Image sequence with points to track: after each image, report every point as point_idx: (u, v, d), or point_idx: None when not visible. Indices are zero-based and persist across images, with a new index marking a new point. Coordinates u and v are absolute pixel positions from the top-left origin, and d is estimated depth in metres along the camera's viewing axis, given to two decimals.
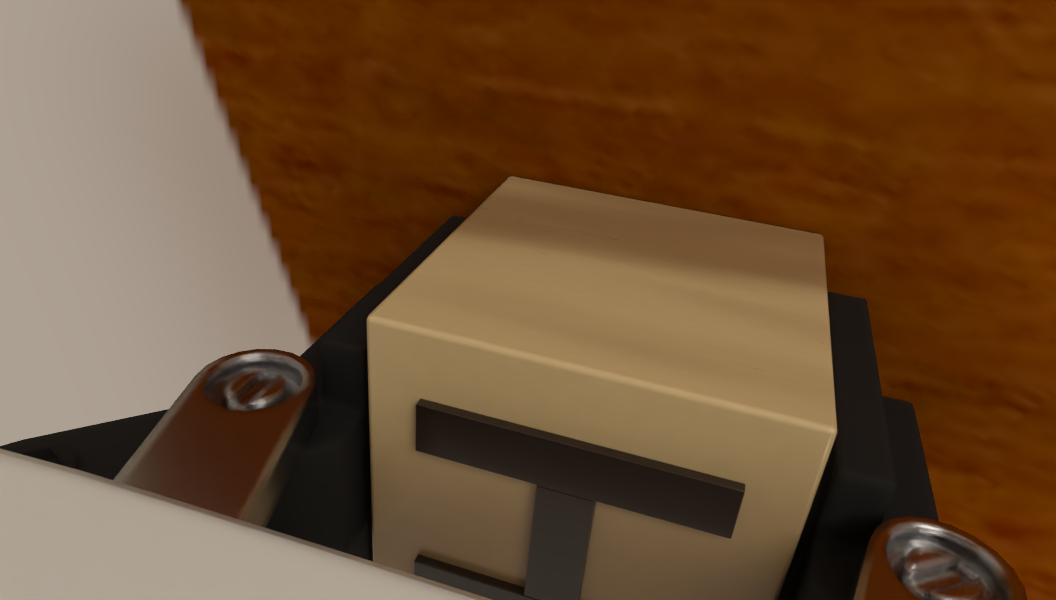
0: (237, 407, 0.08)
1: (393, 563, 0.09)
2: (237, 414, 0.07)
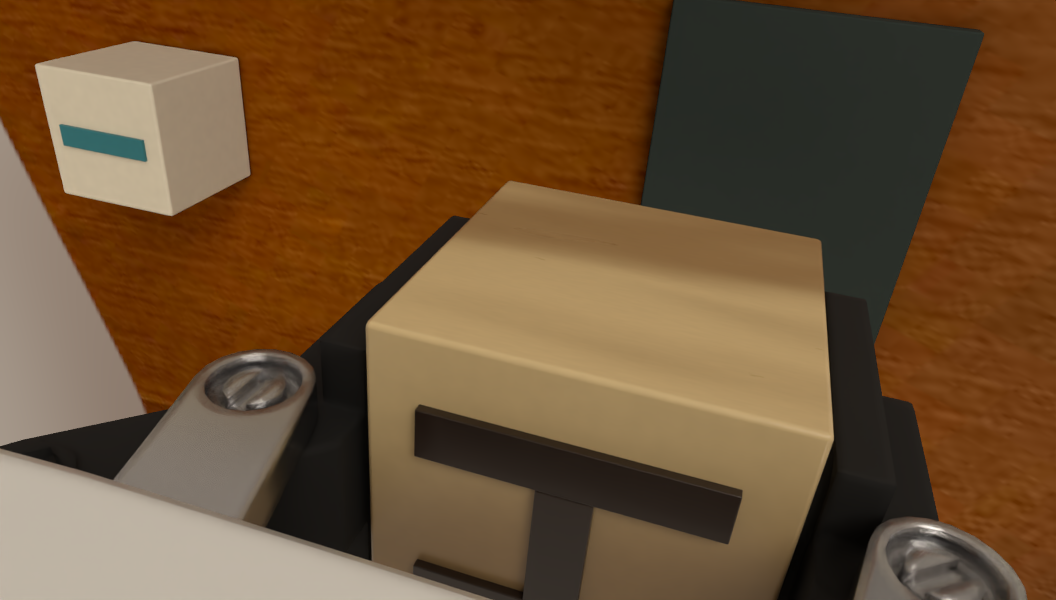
0: (237, 407, 0.08)
1: (392, 567, 0.09)
2: (237, 414, 0.07)
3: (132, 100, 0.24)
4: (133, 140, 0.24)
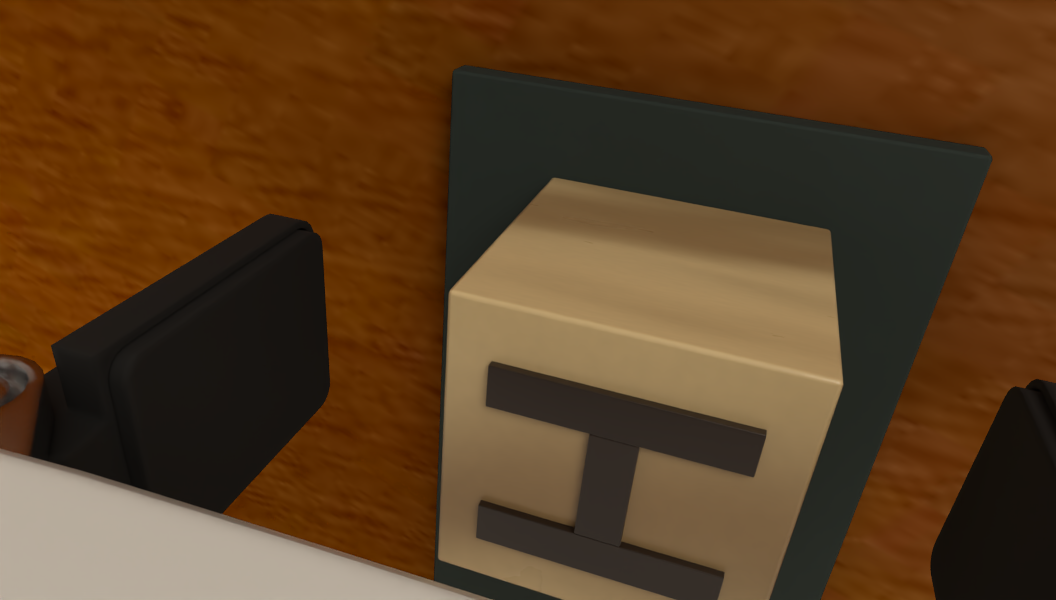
0: None
1: (458, 508, 0.10)
2: None
3: None
4: None
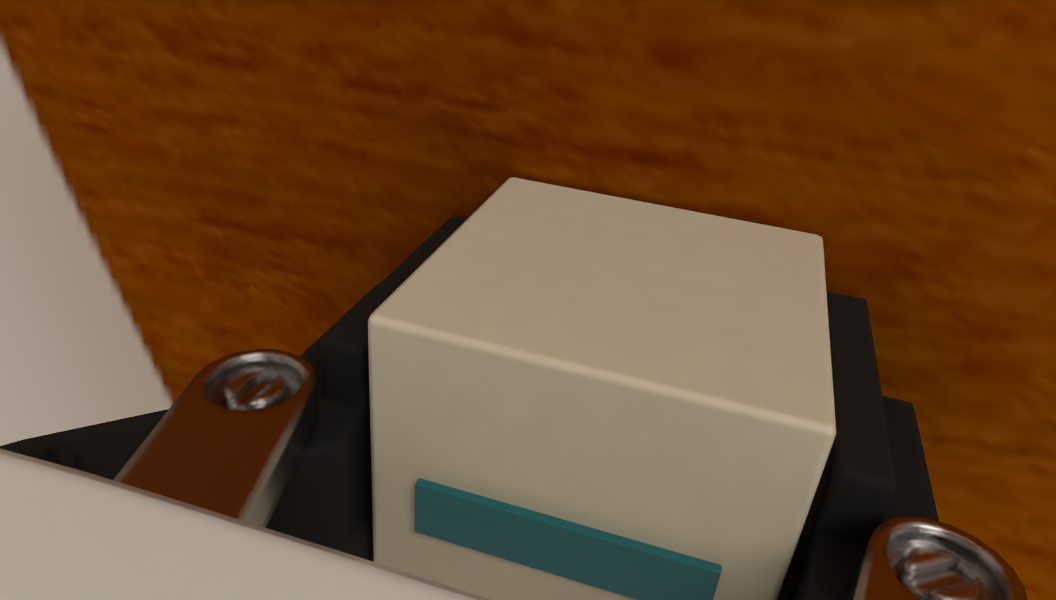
0: (237, 407, 0.08)
1: None
2: (237, 414, 0.07)
3: (729, 462, 0.07)
4: (679, 558, 0.08)
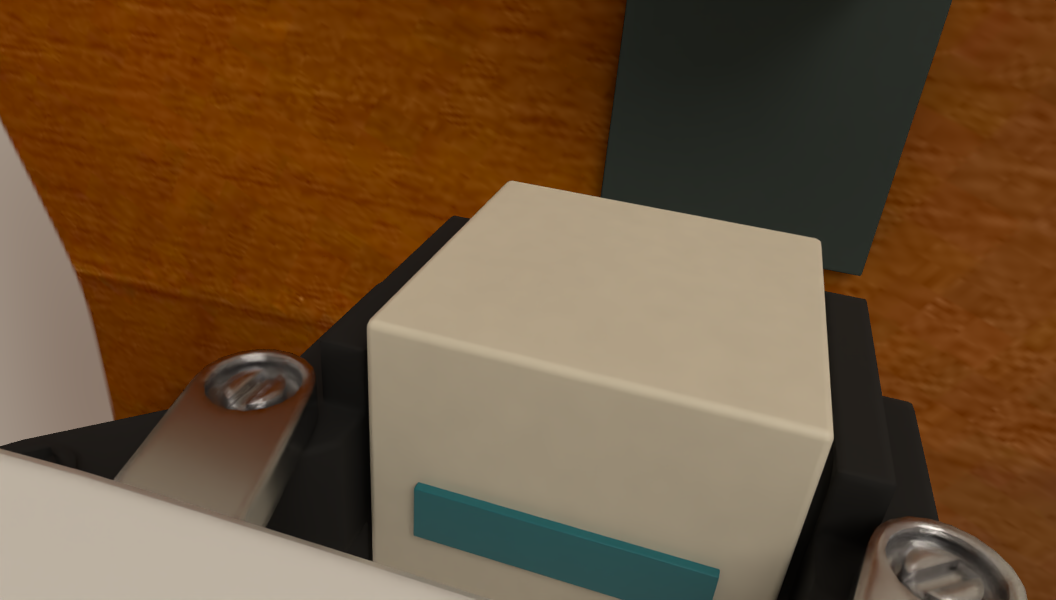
0: (237, 407, 0.08)
1: None
2: (237, 414, 0.07)
3: (728, 467, 0.07)
4: (676, 562, 0.08)
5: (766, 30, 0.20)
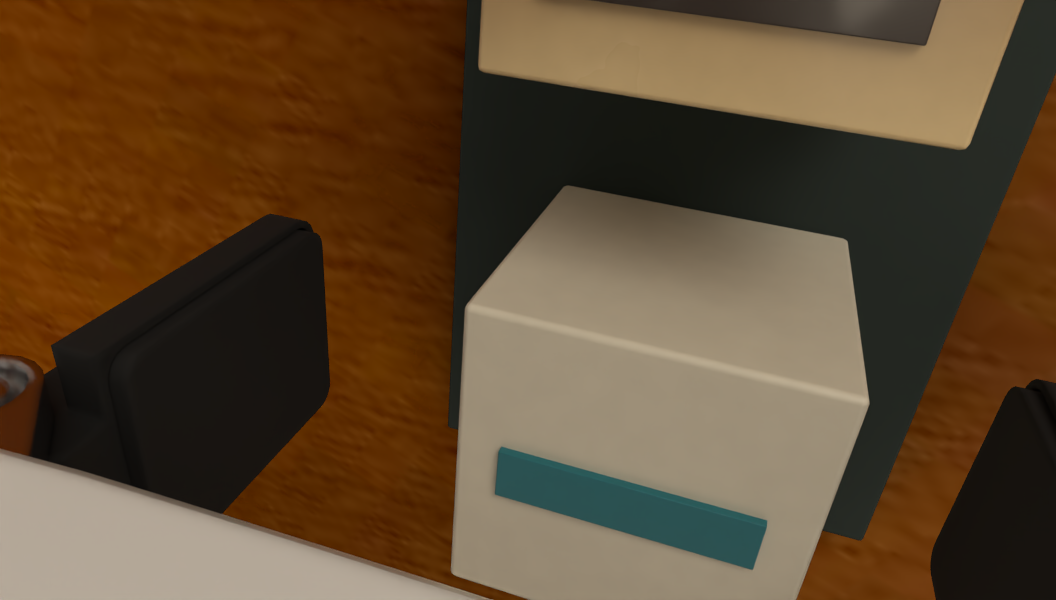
0: None
1: None
2: None
3: (777, 430, 0.08)
4: (729, 515, 0.09)
5: (697, 153, 0.11)
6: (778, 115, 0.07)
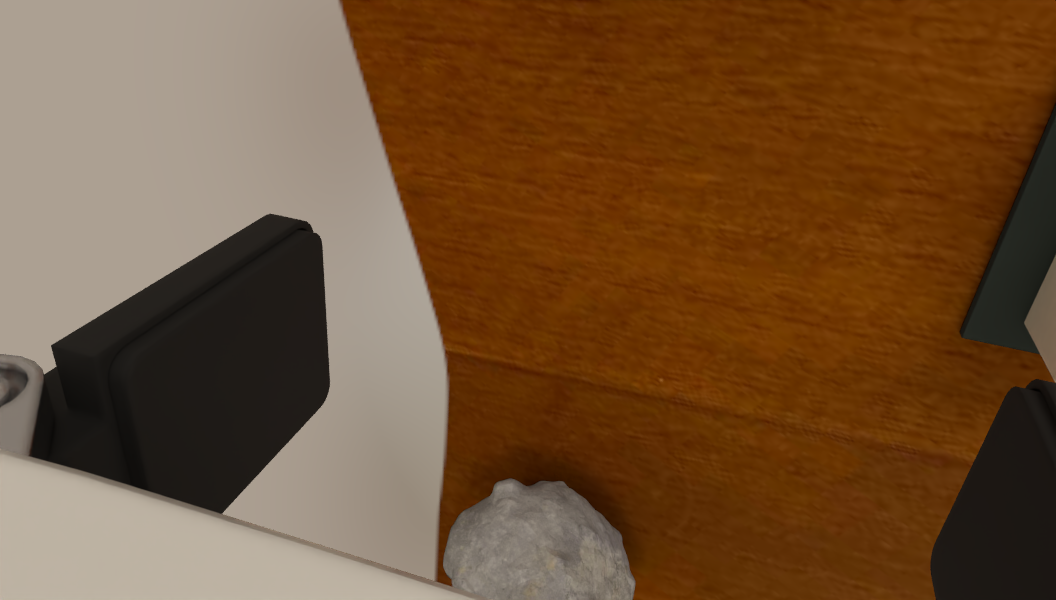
0: None
1: None
2: None
3: None
4: None
5: None
6: None
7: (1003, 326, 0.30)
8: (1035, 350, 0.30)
